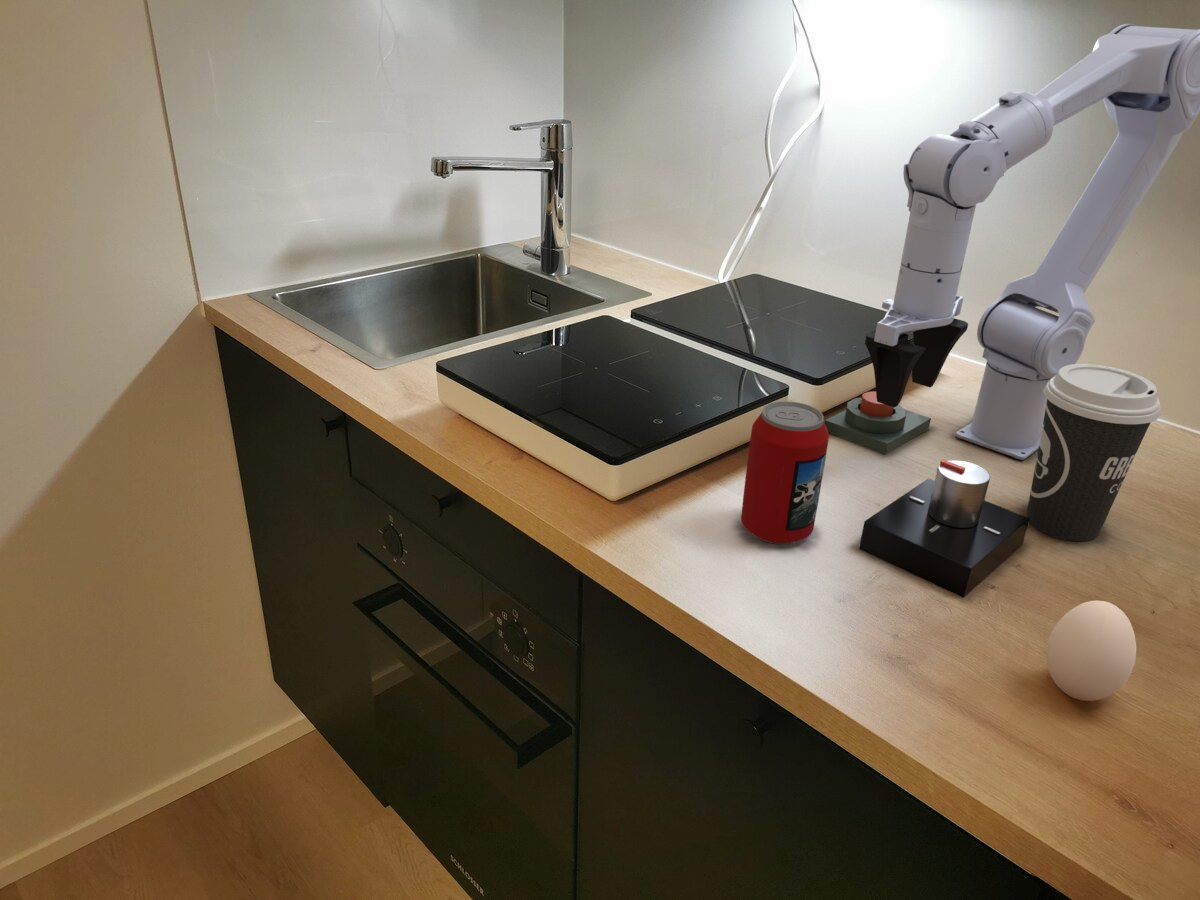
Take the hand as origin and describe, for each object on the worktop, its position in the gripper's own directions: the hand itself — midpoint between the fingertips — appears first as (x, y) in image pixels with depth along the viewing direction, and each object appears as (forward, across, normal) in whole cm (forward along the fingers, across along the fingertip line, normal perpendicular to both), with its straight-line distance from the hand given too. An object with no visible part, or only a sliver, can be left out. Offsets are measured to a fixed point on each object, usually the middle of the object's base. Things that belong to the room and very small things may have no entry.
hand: (905, 393), depth 95 cm
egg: (+8, +24, +28) cm, 37 cm away
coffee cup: (+8, 0, +18) cm, 20 cm away
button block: (+8, -6, -5) cm, 11 cm away
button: (+5, -5, -5) cm, 9 cm away
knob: (+5, +11, +12) cm, 17 cm away
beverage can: (+8, +21, 0) cm, 23 cm away
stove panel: (+8, +12, +12) cm, 19 cm away
